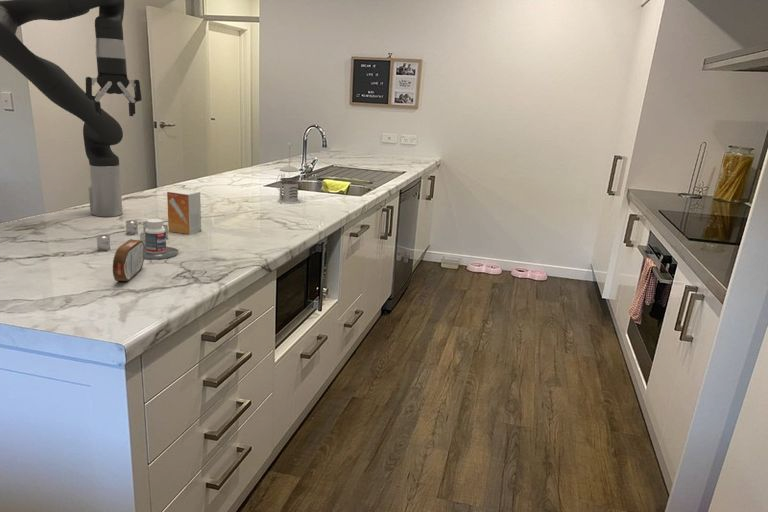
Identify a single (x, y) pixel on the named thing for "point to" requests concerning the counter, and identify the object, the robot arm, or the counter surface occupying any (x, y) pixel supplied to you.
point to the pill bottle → (155, 237)
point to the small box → (184, 211)
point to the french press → (288, 185)
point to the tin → (128, 260)
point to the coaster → (169, 253)
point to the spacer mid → (144, 226)
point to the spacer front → (166, 230)
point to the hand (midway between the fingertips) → (115, 115)
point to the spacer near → (103, 242)
